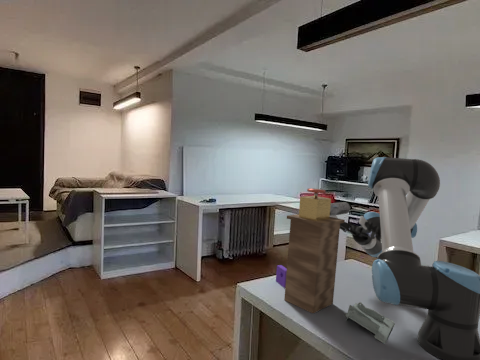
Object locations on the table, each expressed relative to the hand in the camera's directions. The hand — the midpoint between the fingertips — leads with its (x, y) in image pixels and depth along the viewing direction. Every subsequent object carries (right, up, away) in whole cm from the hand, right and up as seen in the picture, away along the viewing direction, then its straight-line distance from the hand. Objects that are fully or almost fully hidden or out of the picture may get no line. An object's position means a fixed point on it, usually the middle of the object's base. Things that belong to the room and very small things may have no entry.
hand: (344, 215), depth 126 cm
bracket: (-19, -28, +5) cm, 34 cm away
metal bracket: (-1, -32, -25) cm, 41 cm away
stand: (-16, -29, -12) cm, 35 cm away
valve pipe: (-9, +1, -9) cm, 13 cm away
